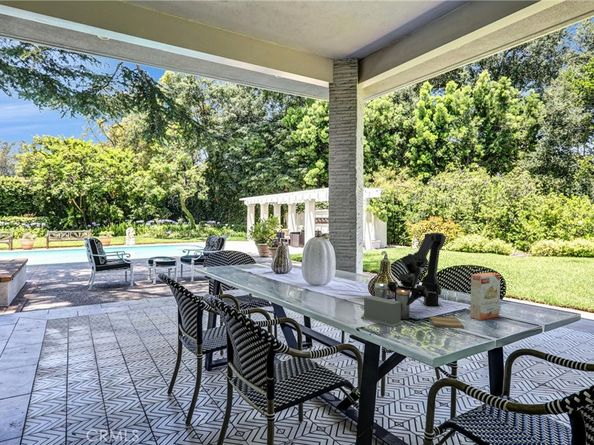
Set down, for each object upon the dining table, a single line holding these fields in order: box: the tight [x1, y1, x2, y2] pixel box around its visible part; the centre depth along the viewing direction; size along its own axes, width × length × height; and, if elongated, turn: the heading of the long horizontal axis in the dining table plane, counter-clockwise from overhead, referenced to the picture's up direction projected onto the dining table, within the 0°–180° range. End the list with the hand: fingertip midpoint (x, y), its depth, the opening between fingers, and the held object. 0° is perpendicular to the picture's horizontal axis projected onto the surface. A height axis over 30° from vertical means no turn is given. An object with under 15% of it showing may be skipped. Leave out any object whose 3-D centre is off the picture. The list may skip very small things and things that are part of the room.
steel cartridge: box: [374, 282, 388, 299], centre depth 193 cm, size 6×6×13 cm
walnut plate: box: [428, 316, 465, 329], centre depth 168 cm, size 12×12×1 cm
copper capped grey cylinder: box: [396, 288, 411, 320], centre depth 176 cm, size 6×6×13 cm
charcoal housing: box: [360, 295, 405, 328], centre depth 172 cm, size 8×18×10 cm, turn 41°
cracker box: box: [469, 272, 501, 321], centre depth 177 cm, size 14×6×21 cm, turn 117°
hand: (401, 303), depth 175 cm, fingers closed on copper capped grey cylinder, 6 cm apart
